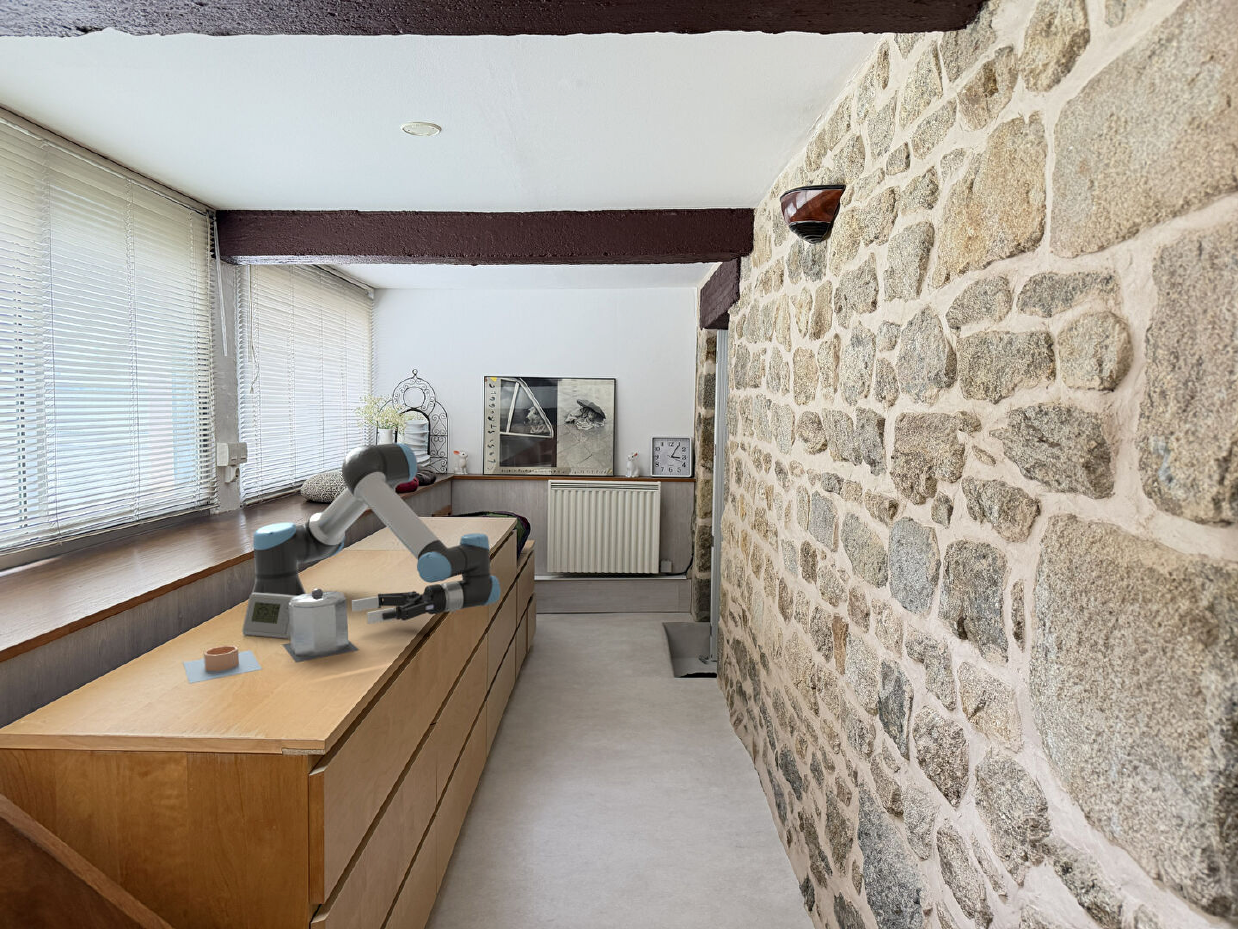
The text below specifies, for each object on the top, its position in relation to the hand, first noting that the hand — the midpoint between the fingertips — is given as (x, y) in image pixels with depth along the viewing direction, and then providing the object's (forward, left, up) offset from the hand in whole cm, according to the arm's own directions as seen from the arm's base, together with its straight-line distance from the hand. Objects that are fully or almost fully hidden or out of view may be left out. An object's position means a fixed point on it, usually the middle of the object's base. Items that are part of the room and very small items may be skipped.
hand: (359, 612), depth 185 cm
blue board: (0, -31, -7) cm, 32 cm away
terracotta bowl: (0, -31, -7) cm, 31 cm away
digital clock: (-19, -17, -8) cm, 27 cm away
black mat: (0, -10, -7) cm, 12 cm away
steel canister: (0, -10, -7) cm, 12 cm away
